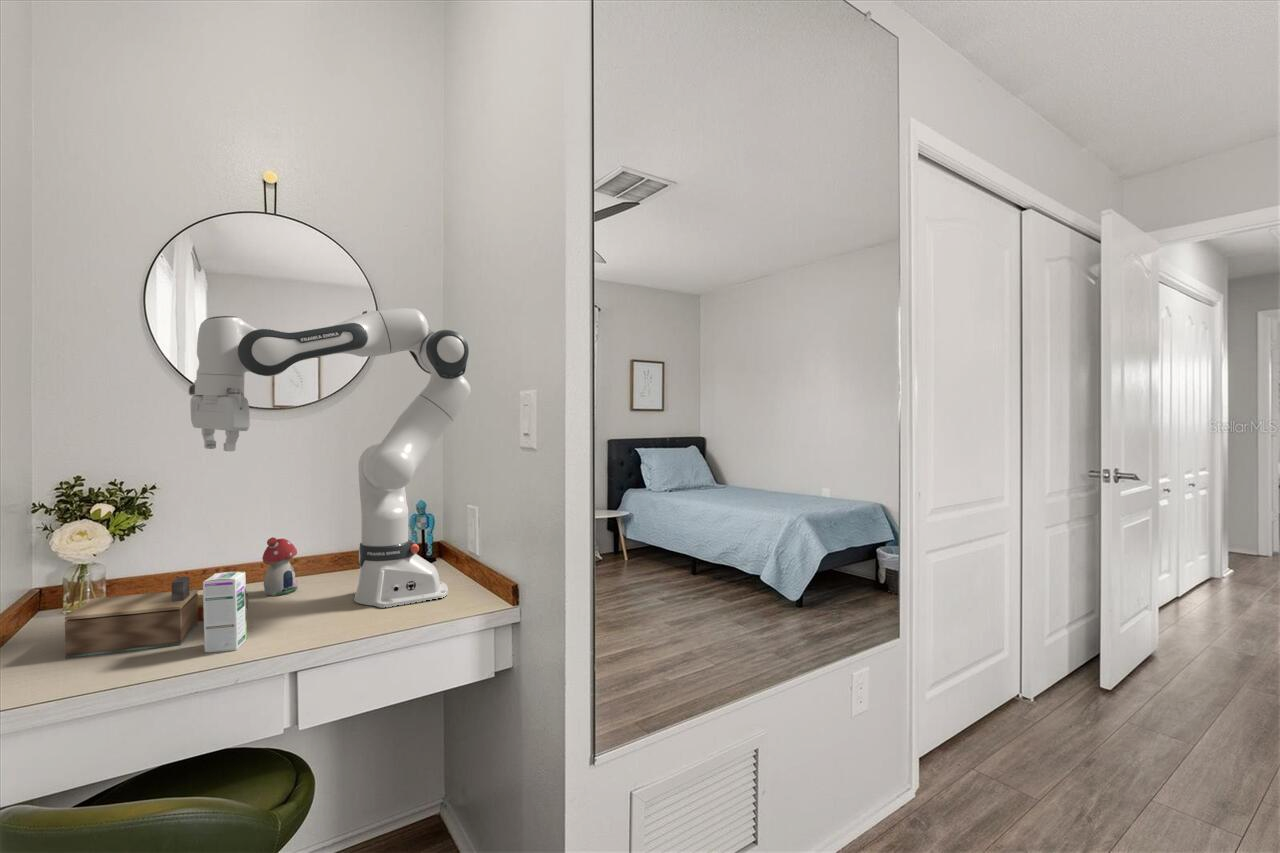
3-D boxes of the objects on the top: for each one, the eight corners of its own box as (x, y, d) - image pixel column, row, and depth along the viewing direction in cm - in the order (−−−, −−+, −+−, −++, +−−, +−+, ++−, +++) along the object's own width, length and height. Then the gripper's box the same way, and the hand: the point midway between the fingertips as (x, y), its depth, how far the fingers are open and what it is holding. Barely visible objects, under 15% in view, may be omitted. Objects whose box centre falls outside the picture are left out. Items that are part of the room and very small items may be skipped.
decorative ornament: (271, 599, 150) (271, 539, 149) (253, 595, 152) (253, 537, 152) (305, 589, 159) (304, 533, 158) (287, 586, 161) (287, 530, 161)
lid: (197, 592, 132) (197, 571, 132) (180, 609, 121) (180, 586, 121) (93, 601, 125) (93, 579, 125) (64, 620, 114) (64, 596, 114)
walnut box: (197, 624, 132) (197, 593, 132) (180, 644, 121) (180, 610, 121) (93, 635, 125) (93, 602, 125) (65, 658, 114) (64, 621, 114)
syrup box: (237, 650, 119) (237, 578, 118) (202, 653, 117) (202, 580, 117) (247, 639, 124) (247, 570, 124) (214, 642, 123) (214, 572, 122)
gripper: (258, 389, 131) (257, 452, 132) (216, 389, 142) (215, 447, 143) (226, 387, 126) (225, 453, 126) (184, 387, 137) (183, 447, 137)
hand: (219, 449), depth 134 cm, fingers open, 8 cm apart
